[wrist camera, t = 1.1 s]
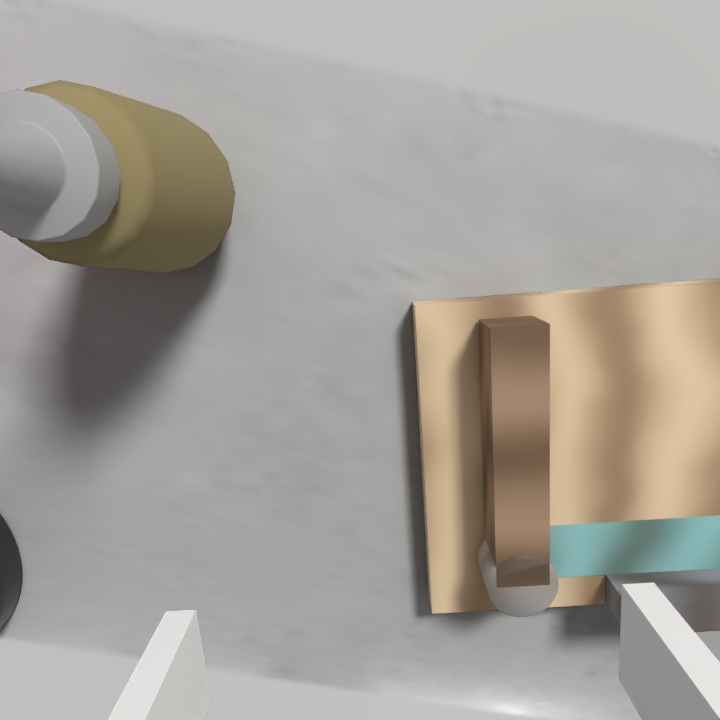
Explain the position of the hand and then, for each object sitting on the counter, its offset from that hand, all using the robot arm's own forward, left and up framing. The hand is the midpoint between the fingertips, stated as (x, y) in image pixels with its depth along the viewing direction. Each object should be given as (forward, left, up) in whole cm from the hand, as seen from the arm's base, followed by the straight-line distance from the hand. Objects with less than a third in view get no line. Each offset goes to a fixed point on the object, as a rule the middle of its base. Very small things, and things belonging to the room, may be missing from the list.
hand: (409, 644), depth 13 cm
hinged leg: (+7, -4, -19) cm, 20 cm away
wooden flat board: (+13, -4, -21) cm, 25 cm away
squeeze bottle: (-11, +13, -21) cm, 27 cm away
